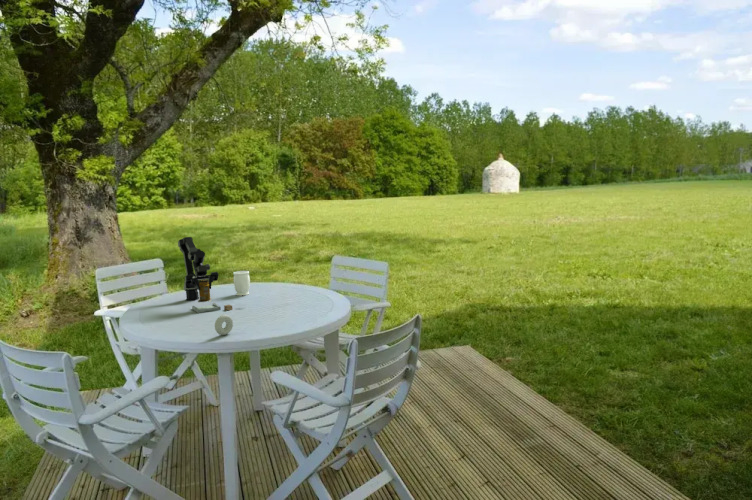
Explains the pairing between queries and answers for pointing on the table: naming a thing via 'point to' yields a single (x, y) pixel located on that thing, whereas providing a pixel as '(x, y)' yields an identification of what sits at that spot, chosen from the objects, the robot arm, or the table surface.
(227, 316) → the donut
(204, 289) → the condiment
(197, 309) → the holder
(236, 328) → the table surface
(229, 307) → the tan block
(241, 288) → the jar
